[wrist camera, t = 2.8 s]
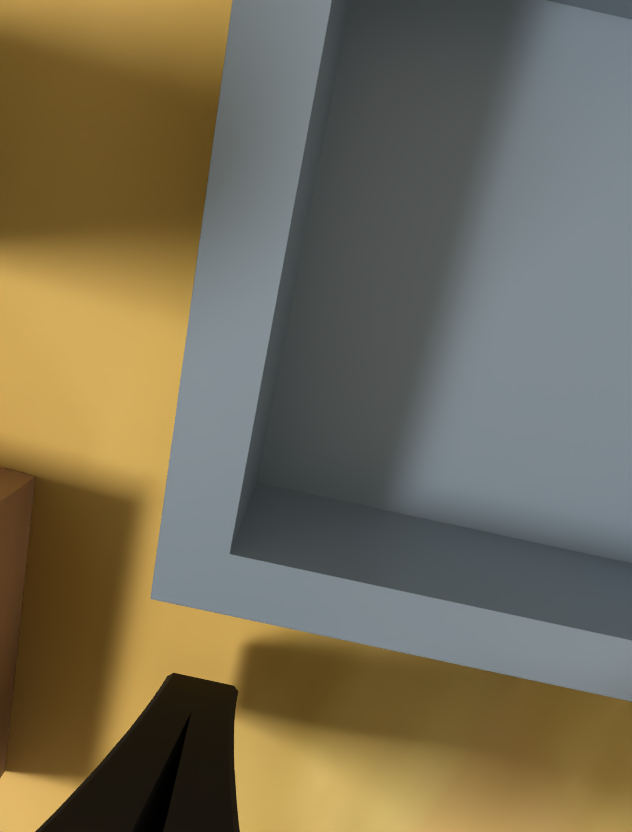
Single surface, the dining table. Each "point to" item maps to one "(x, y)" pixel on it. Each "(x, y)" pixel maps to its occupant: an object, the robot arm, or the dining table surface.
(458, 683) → the dining table surface
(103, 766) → the robot arm
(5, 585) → the tan cardboard box
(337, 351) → the tray
